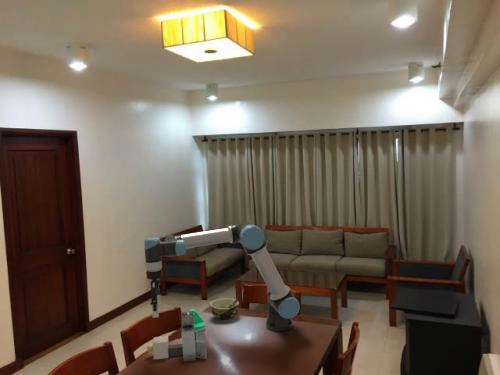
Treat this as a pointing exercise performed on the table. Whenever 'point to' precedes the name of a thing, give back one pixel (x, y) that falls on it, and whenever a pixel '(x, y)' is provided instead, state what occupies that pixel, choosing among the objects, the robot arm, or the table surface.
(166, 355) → the grey beam
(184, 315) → the housing
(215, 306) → the bowl
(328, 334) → the table surface
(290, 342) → the table surface
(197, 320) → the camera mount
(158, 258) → the robot arm
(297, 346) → the table surface
